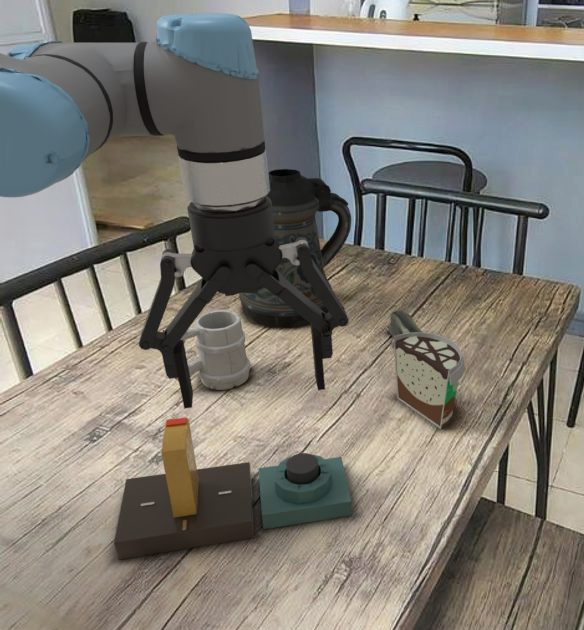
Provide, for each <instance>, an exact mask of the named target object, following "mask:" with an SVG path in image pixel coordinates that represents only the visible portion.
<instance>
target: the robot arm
mask: <svg viewBox="0 0 584 630" xmlns="http://www.w3.org/2000/svg"><path fill="white" fill-rule="evenodd" d="M259 76H260V71H259V69H258V67H257V61H256V53H255V48H254V41H253V36H252V30H251V27H250V24H249V23H248V22H247V21H246V20H245V18H243V17H242V16H240V15H238V14H234V13H225V12H224V13H221V12H197V13H176V14H175V13H174V14H167V15H163V16H161V17H160V18H159V19H157V22H156V35H155V39H154V40H149V41H140V42H63V41H61V40H50V41H47V42H38V43H25V44H18V45H16V46H13V47H12V48H11V49H9V50H8V52H7V54H5V53H1V52H0V197H1V198H23V197H27V196H32V195H34V194H35V195H36V194H37V193H40V192H41V191H43V190H45V189H48V188H50V187H52V186H53V185H55V184H57V183H60V182H62V181H64V180H65V179H68V178H69V177H70V176H72V175H73V174H74V173H75V171H76V170H78V169H79V168H80V167H81V165H82V163H83V162H84V161H85V160H86V159H87V158H88V157H90V156H91V155H92V154H93V153H95V152H97V151H98V150H99V149H101V148H103V146H105V145H106V144H107V143H109V141H111V140H112V139H114V138H124V137H149V136H150V137H151V136H152V137H153V136H155V137H160V136H165V135H172V136H174V140H175V143H176V149H177V158H178V163H179V169H180V175H181V180H182V185H183V186H182V187H183V191H184V196H185V197H184V198H185V199H186V200H187V201H188V202H189V203H188V205H187V215H188V221H189V228H190V233H191V238H192V239H191V240H192V245H193V250H192V252H191V253H177V252H176V251H174V250H173V249H171V248H167V249H164V250H163V251H162V254H161V258H160V263H159V269H160V279H159V283H158V285H157V288H156V290H155V294H154V296H153V299H152V300H151V301H152V302H151V305H150V307H149V310H148V313H147V315H146V318H145V321H144V323H143V326H142V330H141V332H140V333H141V334H140V336H139V337H140V338H139V342H138V346H139V348H140V349H141V350H144V351H147V350H150V349H152V350H157V351H159V352H160V354H161V357H162V362H163V366H164V370H165V376H167V378H168V379H169V380H171V379H175V378H178V379H179V381H178V383H179V390H180V393H181V399H182V404H183V408H184V409H192V408H193V401H194V390H193V384H192V380H191V377H190V373H189V368H188V364H189V362H188V358H187V353H186V347H185V343H184V342H183V340H180V339H181V338H182V337H183V335H184V334H185V333H186V331H187V330H188V329H190V328H191V326H192V325H193V323H194V322H195V321H196V320H197V318H198V317H199V315H200V314H201V313H202V311H203V310H204V308H205V307H206V306H207V305H208V304H210V302H211V301H212V299H213V298H214V297H215V295H216V294H217V293H220V294H223V295H224V296H225V297H231V296H236V295H239V293H258V290H261V289H262V288H264V287H265V288H266V289H267V290H268V291H270V292H271V293H272V294H273V295H275V296H278V297H279V298H280V299H281V300H283V301H284V302H285V303H286V304H287V305H289V306H290V307H291V308H292V309H293V310H295V311H296V312H297V313H298V314H299V315H301V316H302V317H303V318H304V319H305V320H306V321H308V322H309V323H310V324H309V325H310V331H311V344H312V355H313V356H312V357H313V365H314V366H313V367H314V368H313V369H314V377H315V383H316V387H317V391H323V390H326V386H325V385H326V384H325V372H324V361H323V360H325V359H326V360H327V359H331V358H332V357H333V354H334V352H333V351H334V350H333V349H334V348H333V337H332V335H333V330H335V329H336V328H338V327H343V328H344V327H346V326H347V325H349V318H348V314H347V311H346V309H345V307H344V304H343V303H342V302H341V301H340V299H339V298H338V296H337V294H336V293H335V291H334V290H333V288H332V286H331V287H330V285H331V284H330V285H329V284H328V282H327V281H326V279H325V278H324V276H323V275H322V273H321V272H320V270H319V269H318V267H317V266H316V264H315V263H314V261H313V260H312V258H311V254H310V249H309V246H308V242H307V239H305V238H304V237H299V238H297V239H296V241H295V243H290V244H285V245H279V244H278V242H277V241H276V238H275V229H274V220H273V210H272V201H271V199H270V198H268V196H267V194H268V193H269V192H270V183H269V174H268V173H269V165H268V157H267V148H266V141H265V130H264V118H263V107H262V98H261V96H262V95H261V87H260V86H261V85H260V77H259ZM282 258H287V259H289V260H290V261H291V263H292V264H293V265H295V266H298V265H300V266H301V269H302V272H303V274H304V275H305V277H306V278H307V280H308V281H309V283H310V284H311V286H312V287H313V289H314V290H315V292H316V293H317V295H318V296H319V298H320V299H321V301H322V302H323V304H324V305H325V306H326V308H327V309H328V311H329V312H328V313H327V314H326V313H325V312H323V311H322V310H321V309H320V308H319V307H318V306H316V305H315V304H314V303H313V302H312V301H311V300H309V299H308V298H307V297H306V296H305V295H304V294H303V293H301V292H300V291H299V290H298V289H297V288H296V287H294V286H293V285H292V284H291V283H290V282H289V281H287V280H286V279H285V278H284V277H283V275H282V274H281V273H280V272H279V271H278V270H277V267H278V266H279V264H280V263H281V261H282ZM188 268H192V269H193V271H194V272H195V273H196V274H197V275H199V277H200V278H201V279H200V280H199V282H198V283H197V285H196V287H195V288H194V290H192V293H191V294H189V295H190V296H189V297H188V298H187V299H186V301H185V302H184V303H183V305H182V306H181V307H180V309H179V311H178V312H177V313H176V314H175V316H173V317H174V319H173V320H172V319H171V321H170V323H169V324H168V325H167V327H166V328H165V329H163V330H162V331H159V329H160V326H161V322H162V320H163V318H164V314H165V312H166V309H167V306H168V304H169V301H170V299H171V296H172V293H173V290H174V287H175V281H176V278H181V277H183V276H184V275H185V271H186V270H187V269H188ZM331 288H332V289H331Z"/></svg>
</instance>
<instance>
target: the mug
mask: <svg viewBox="0 0 584 630" xmlns="http://www.w3.org/2000/svg"><path fill="white" fill-rule="evenodd" d="M174 317H175V316H171V321H172V320H173V319H174ZM241 318H242V317H241V316H240V315H239V314H238V313H237V312H236V311H233V310H227V309H225V310H224V309H218V310H212V311H208V312H205V313H203V314H201V315H200V316H197V318H196V319H195V321H194V322H195V323H194V325H195V327H189V329H188V330H187V331H186V333H185V334H184V335H183V337H182V338H181V339H180V340H183V342H184V344H185V343H186V341H187V340H188V339H191V338H194V337H195V339H194V343H195V348H196V350H197V354H198V357H197V358H196V359H193V360H192V361H190V363H188V368H189V373H190V378H191V377H192V376H193V375H195V374H196V373H197V375H198V377H199V379H200V381H201V383H202V384H203V386H205V387H206V388H208V389H211V390H217V391H222V390H223V391H225V390H231V389H233V388H234V387H239V386H241V385H243V384H244V383H246V381H247V380H248V379H249V377H250V370H251V362H250V359H249V357H248V356H247V350H246V345H245V343H246V333H245V331H244V330H243V325H242V319H241ZM174 380H176V381H177V382H179V379H178V378H174Z"/></svg>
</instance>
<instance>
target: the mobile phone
mask: <svg viewBox="0 0 584 630" xmlns="http://www.w3.org/2000/svg"><path fill="white" fill-rule="evenodd" d="M389 319H390V320H389V321H390V322H389V323H390V324H389V325H390V326H389V325H386V326H385V330H386V331H387V332H388V333H389V334H390V335H391V336H392V337H393V338H394V336H397V335H400V334H405V333H414V332H423V330H422V329H421V328H420V327H419V326H418V325H417V323H416V322H415V320H414V318H413V317H412V316H411V315H410V314H409V313H407V312H404V311H403V310H396V311H392V312H391V314H390V318H389Z"/></svg>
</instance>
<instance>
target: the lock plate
mask: <svg viewBox="0 0 584 630" xmlns="http://www.w3.org/2000/svg"><path fill="white" fill-rule="evenodd" d="M197 473H198V479H199V487H198V502H197V514H195V515H188V516H181V517H174V516H173V511H172V505H171V500H170V495H169V490H168V485H167V480H166V474H165V473H160V474H152V475H146V476H140V477H139V476H137V477H131V478H126V479H125V482H124V487H123V492H122V493H123V494H122V498H121V503H120V510H119V514H118V518H117V519H118V520H117V525H116V530H115V536H114V541H113V545H114V548H115V553H116V556H117V560H125V559H131V558H138V557H143V556H150V555H156V554H162V553H169V552H175V551H181V550H186V549H193V548H199V547H205V546H211V545H218V544H223V543H230V542H234V541H241V540H242V541H243V540H249V539H254V538H255V526H254V523H255V522H254V505H253V485H252V484H253V482H252V481H253V480H252V471H251V463H250V461H248V462H247V461H246V462H241V463H232V464H226V465H225V464H224V465H220V466H218V465H217V466H211V467H204V468H197Z"/></svg>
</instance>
